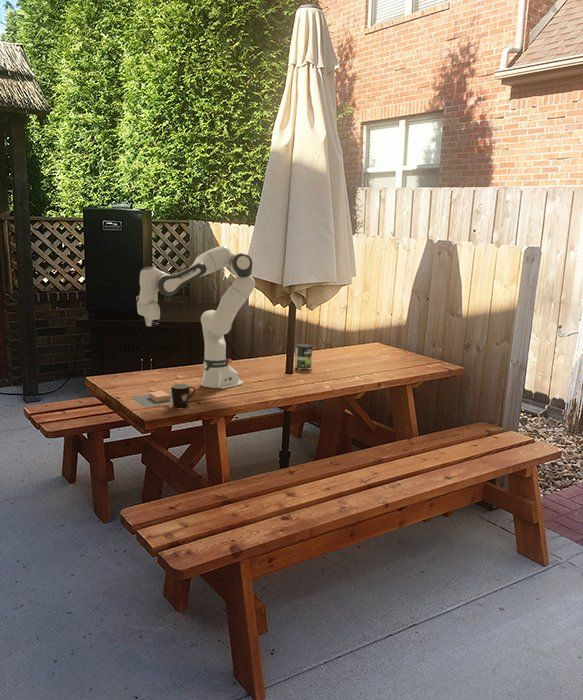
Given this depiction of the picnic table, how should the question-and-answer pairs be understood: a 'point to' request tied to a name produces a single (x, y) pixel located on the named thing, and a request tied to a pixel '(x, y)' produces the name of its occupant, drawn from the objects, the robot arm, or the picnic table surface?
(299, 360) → the coffee can
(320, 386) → the picnic table surface
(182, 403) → the coffee mug
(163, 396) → the light orange block
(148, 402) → the mat
